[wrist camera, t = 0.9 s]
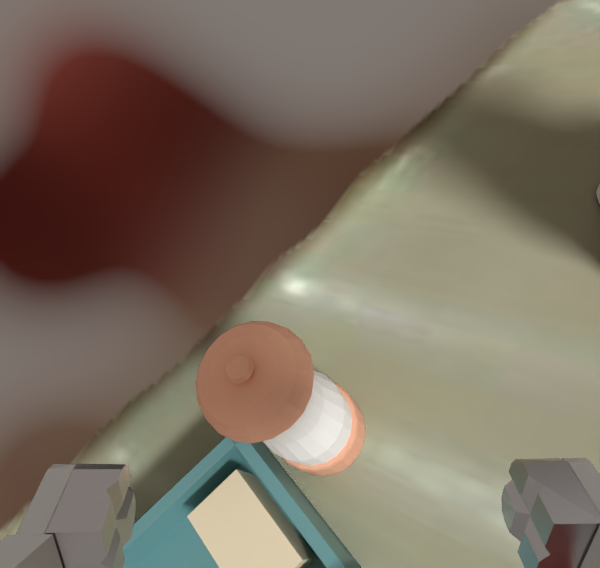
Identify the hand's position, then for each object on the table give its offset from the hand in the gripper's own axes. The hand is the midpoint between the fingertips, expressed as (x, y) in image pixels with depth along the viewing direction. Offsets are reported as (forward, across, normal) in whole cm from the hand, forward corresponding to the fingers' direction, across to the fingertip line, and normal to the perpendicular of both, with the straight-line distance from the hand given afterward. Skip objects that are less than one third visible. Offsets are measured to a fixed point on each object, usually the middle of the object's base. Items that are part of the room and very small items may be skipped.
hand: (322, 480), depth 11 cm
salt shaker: (+25, -3, +23) cm, 34 cm away
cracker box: (+19, +2, +28) cm, 34 cm away
